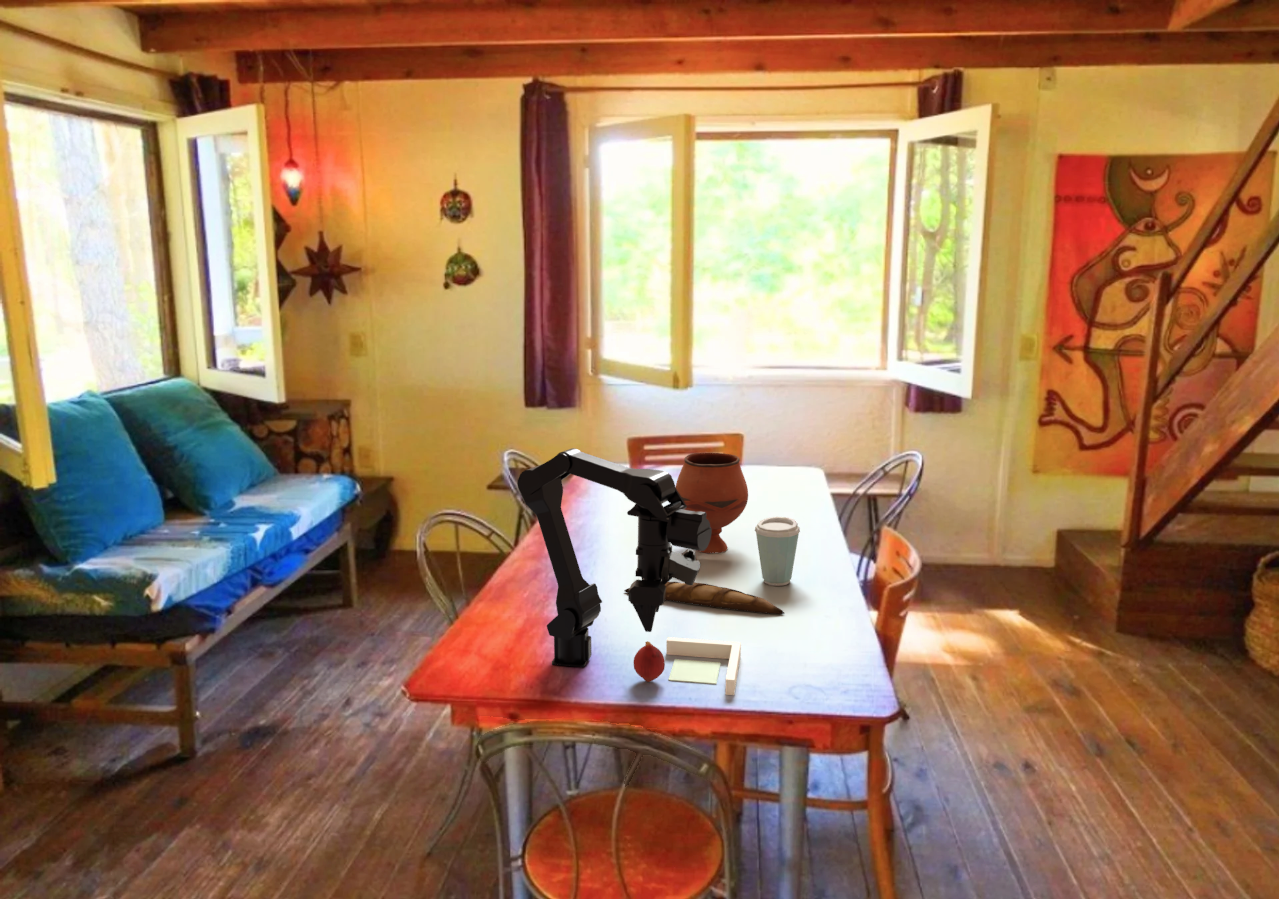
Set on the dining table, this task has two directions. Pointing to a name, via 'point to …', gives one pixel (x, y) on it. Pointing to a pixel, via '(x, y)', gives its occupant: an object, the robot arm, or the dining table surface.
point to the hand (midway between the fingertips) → (652, 621)
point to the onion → (649, 662)
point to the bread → (717, 597)
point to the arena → (704, 669)
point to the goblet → (713, 491)
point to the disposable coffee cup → (777, 548)
